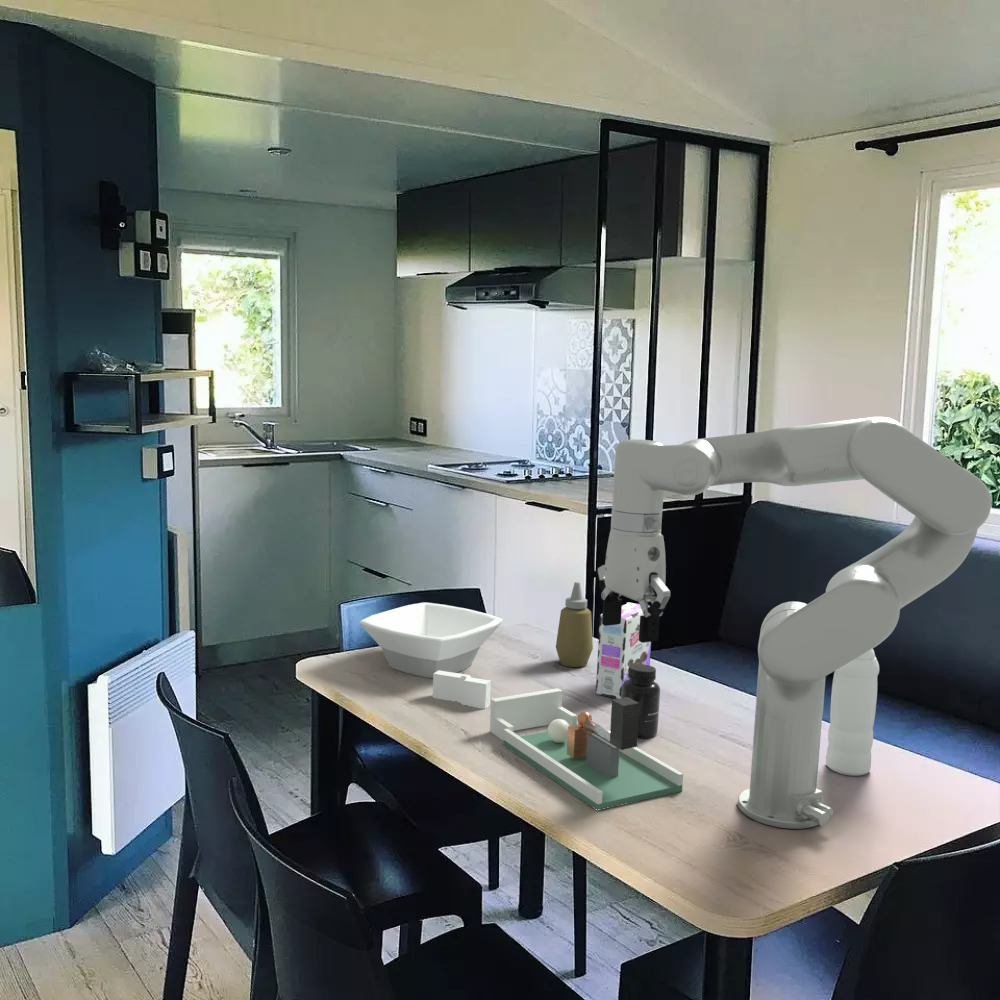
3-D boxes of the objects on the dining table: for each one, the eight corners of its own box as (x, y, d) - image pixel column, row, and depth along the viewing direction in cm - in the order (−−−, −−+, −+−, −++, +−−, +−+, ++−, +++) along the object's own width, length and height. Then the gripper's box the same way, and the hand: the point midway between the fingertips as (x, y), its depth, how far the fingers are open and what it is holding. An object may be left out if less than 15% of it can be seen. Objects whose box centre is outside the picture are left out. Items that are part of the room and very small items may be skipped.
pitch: (682, 790, 159) (684, 754, 158) (597, 810, 151) (599, 772, 150) (561, 719, 189) (562, 687, 188) (484, 732, 181) (485, 699, 180)
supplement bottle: (656, 741, 179) (660, 675, 177) (617, 737, 180) (621, 671, 179) (658, 727, 186) (662, 663, 184) (620, 723, 187) (624, 660, 185)
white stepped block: (417, 697, 199) (418, 668, 199) (469, 689, 205) (470, 661, 204) (453, 722, 187) (454, 692, 186) (507, 713, 192) (508, 683, 191)
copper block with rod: (640, 779, 159) (644, 702, 157) (614, 784, 156) (618, 706, 155) (591, 748, 170) (594, 676, 169) (566, 753, 168) (569, 680, 166)
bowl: (348, 668, 214) (348, 621, 213) (423, 643, 235) (424, 599, 233) (439, 693, 201) (440, 642, 199) (511, 664, 221) (512, 617, 220)
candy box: (621, 700, 200) (625, 618, 197) (594, 694, 203) (598, 613, 200) (650, 682, 211) (654, 605, 209) (624, 677, 214) (628, 600, 212)
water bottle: (816, 763, 172) (828, 618, 168) (849, 758, 174) (861, 615, 171) (845, 779, 165) (858, 629, 162) (879, 774, 168) (893, 626, 164)
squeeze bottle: (593, 670, 218) (597, 587, 216) (555, 668, 218) (559, 586, 216) (590, 659, 226) (594, 579, 224) (554, 657, 226) (557, 578, 224)
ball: (574, 744, 174) (576, 721, 173) (555, 748, 172) (556, 725, 171) (562, 736, 177) (563, 714, 177) (542, 739, 175) (543, 717, 175)
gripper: (692, 531, 148) (684, 645, 151) (623, 512, 163) (617, 616, 166) (650, 533, 145) (642, 651, 147) (584, 514, 160) (578, 620, 162)
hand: (629, 632), depth 156 cm, fingers open, 9 cm apart
